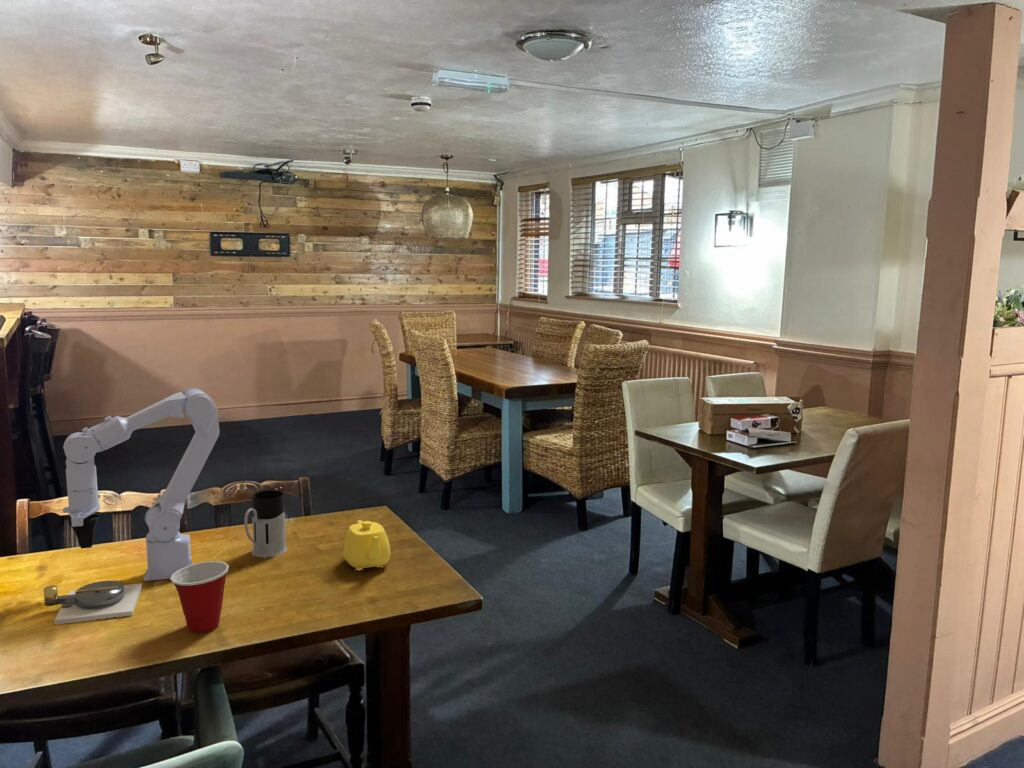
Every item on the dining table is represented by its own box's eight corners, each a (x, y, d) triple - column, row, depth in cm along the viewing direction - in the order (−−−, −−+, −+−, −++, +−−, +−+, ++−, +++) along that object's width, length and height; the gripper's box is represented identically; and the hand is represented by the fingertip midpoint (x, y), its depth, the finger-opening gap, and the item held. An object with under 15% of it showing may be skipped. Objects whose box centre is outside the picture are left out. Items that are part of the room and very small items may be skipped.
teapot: (400, 575, 176) (400, 532, 174) (354, 583, 171) (353, 538, 169) (379, 548, 192) (379, 509, 190) (337, 555, 187) (336, 514, 185)
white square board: (141, 587, 166) (141, 582, 166) (132, 615, 153) (131, 610, 153) (70, 595, 162) (70, 590, 161) (54, 624, 149) (54, 619, 148)
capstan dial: (127, 587, 163) (126, 572, 162) (120, 605, 154) (119, 589, 154) (50, 595, 158) (49, 579, 158) (38, 614, 150) (37, 597, 149)
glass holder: (294, 547, 191) (292, 491, 189) (263, 568, 178) (261, 508, 176) (264, 543, 194) (262, 488, 191) (231, 564, 180) (228, 504, 178)
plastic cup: (184, 614, 154) (181, 559, 152) (237, 613, 155) (235, 558, 153) (164, 640, 143) (161, 581, 142) (222, 639, 144) (219, 581, 142)
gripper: (69, 479, 168) (73, 537, 170) (53, 499, 154) (58, 561, 156) (104, 477, 170) (108, 534, 172) (91, 496, 156) (95, 557, 159)
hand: (86, 547), depth 164 cm, fingers closed
